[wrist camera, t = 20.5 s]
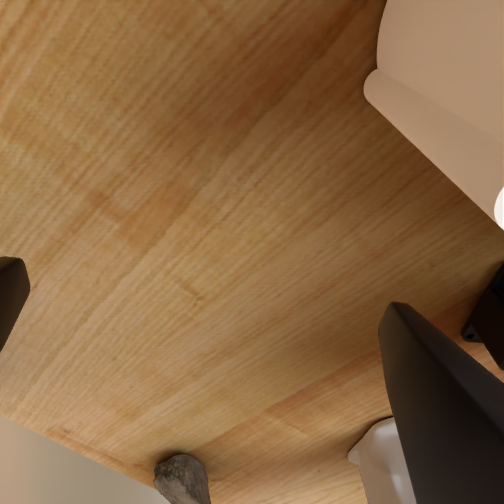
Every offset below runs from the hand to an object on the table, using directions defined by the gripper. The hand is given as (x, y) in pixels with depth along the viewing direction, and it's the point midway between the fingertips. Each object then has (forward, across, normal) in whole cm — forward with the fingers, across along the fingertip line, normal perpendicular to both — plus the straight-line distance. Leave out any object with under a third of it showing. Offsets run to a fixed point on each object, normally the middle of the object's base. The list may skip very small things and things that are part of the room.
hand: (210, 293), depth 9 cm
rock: (+11, -1, +31) cm, 33 cm away
